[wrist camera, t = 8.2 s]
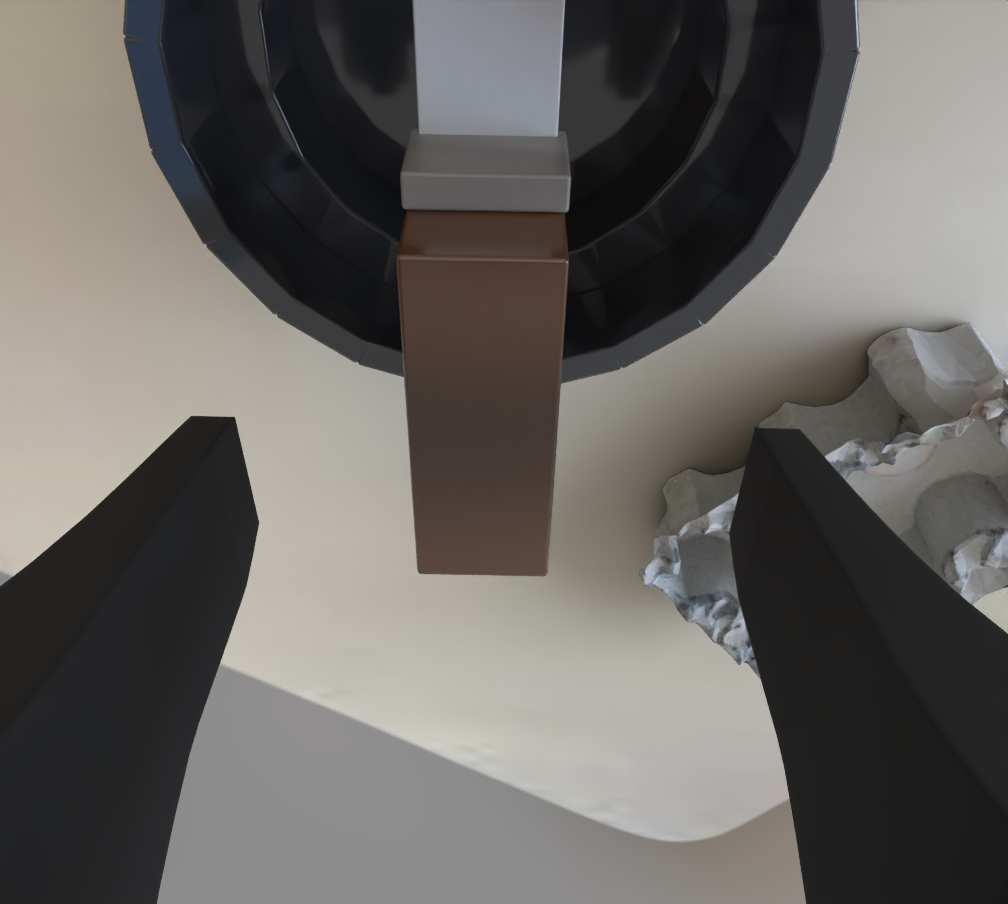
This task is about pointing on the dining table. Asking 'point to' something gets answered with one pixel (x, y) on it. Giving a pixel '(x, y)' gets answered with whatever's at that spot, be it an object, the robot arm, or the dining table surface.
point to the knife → (484, 283)
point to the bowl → (582, 116)
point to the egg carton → (870, 477)
